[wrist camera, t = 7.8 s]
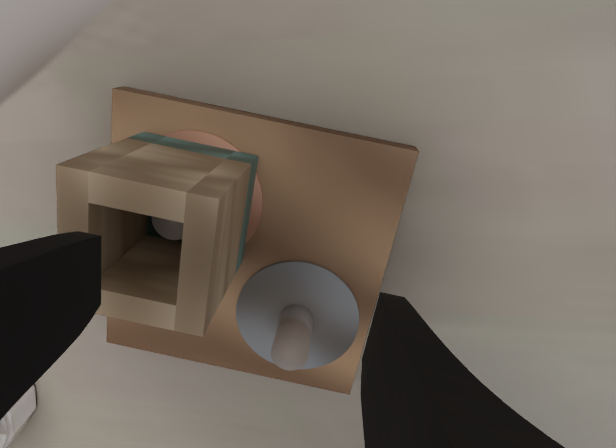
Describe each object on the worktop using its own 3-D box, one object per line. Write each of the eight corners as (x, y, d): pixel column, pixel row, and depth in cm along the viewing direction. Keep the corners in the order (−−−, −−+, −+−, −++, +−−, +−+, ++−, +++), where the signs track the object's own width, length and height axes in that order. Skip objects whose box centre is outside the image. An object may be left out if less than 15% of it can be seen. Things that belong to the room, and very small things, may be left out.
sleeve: (258, 155, 19) (219, 199, 13) (243, 259, 21) (202, 336, 15) (143, 131, 19) (56, 164, 13) (138, 237, 21) (59, 305, 15)
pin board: (349, 381, 24) (349, 441, 20) (116, 330, 24) (73, 381, 20) (415, 147, 19) (431, 169, 15) (123, 86, 19) (69, 94, 16)
